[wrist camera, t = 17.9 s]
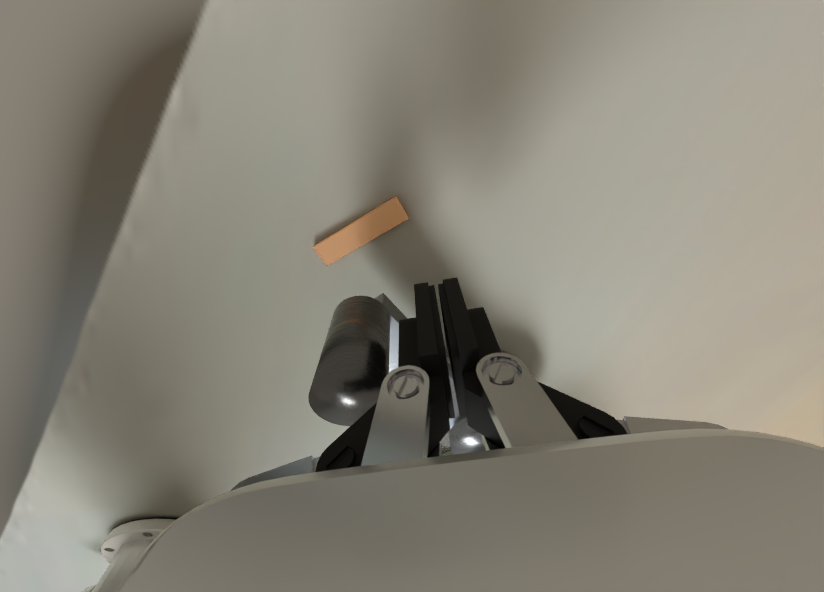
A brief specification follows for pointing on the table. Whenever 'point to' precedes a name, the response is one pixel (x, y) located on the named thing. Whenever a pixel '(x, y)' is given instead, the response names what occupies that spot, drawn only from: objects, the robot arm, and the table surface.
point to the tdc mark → (361, 231)
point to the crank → (369, 367)
